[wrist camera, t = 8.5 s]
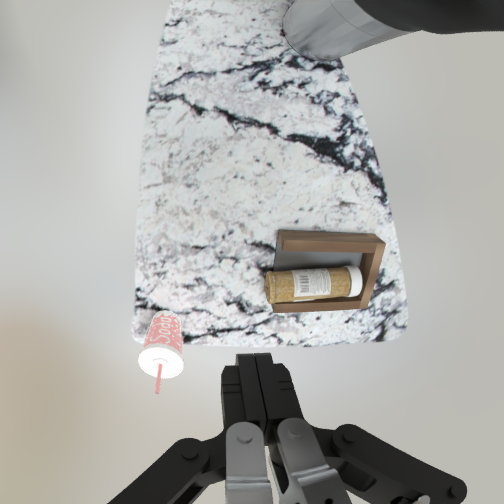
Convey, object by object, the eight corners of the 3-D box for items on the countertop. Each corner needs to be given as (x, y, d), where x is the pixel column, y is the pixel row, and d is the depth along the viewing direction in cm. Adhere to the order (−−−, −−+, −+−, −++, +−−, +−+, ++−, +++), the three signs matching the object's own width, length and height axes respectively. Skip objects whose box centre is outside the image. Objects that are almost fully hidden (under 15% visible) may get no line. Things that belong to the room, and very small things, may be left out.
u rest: (278, 229, 39) (284, 240, 36) (374, 234, 42) (385, 243, 39) (269, 299, 44) (273, 312, 41) (357, 296, 46) (366, 308, 43)
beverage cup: (191, 313, 43) (188, 385, 31) (179, 341, 45) (174, 411, 33) (153, 300, 42) (137, 370, 29) (143, 329, 44) (128, 398, 31)
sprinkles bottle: (266, 308, 41) (354, 300, 42) (271, 296, 37) (366, 288, 38) (263, 279, 43) (347, 273, 45) (266, 264, 39) (358, 259, 41)
